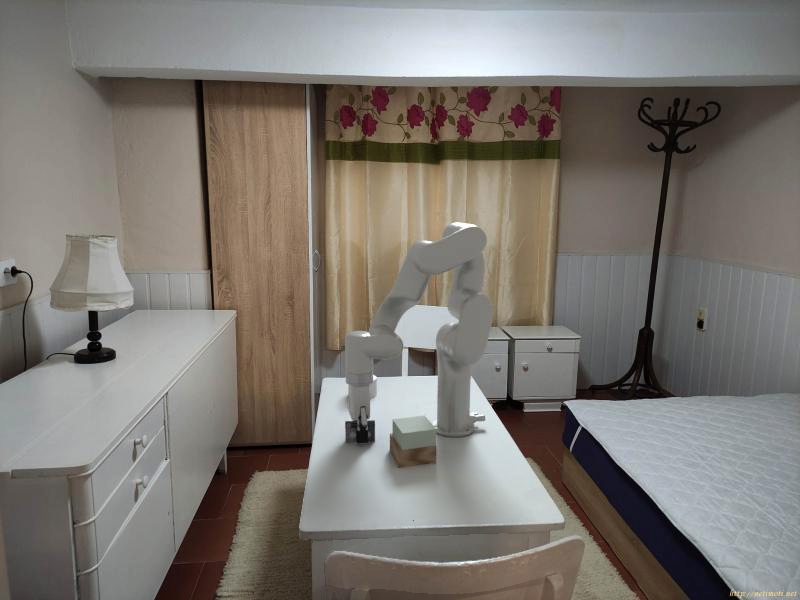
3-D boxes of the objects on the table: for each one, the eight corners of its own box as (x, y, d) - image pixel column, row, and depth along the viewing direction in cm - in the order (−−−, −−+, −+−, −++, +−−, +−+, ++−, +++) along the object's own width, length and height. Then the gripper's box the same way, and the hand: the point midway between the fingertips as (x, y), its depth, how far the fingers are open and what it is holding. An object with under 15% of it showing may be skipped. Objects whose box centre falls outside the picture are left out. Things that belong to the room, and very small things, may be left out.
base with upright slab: (349, 390, 190) (349, 357, 187) (375, 389, 191) (374, 356, 189) (352, 400, 181) (351, 365, 179) (378, 398, 183) (378, 364, 180)
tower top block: (424, 431, 147) (424, 415, 146) (435, 445, 138) (436, 429, 138) (392, 435, 144) (392, 419, 143) (402, 450, 136) (402, 433, 135)
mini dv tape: (374, 439, 152) (374, 419, 151) (375, 442, 151) (374, 421, 150) (345, 440, 152) (345, 420, 151) (345, 442, 150) (345, 422, 149)
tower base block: (425, 447, 148) (425, 430, 147) (436, 464, 139) (436, 446, 138) (389, 450, 146) (389, 433, 145) (398, 469, 137) (398, 450, 136)
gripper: (341, 367, 155) (342, 426, 158) (350, 388, 138) (351, 453, 142) (367, 365, 157) (368, 424, 160) (379, 386, 140) (379, 450, 144)
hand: (360, 437), depth 151 cm, fingers open, 5 cm apart
